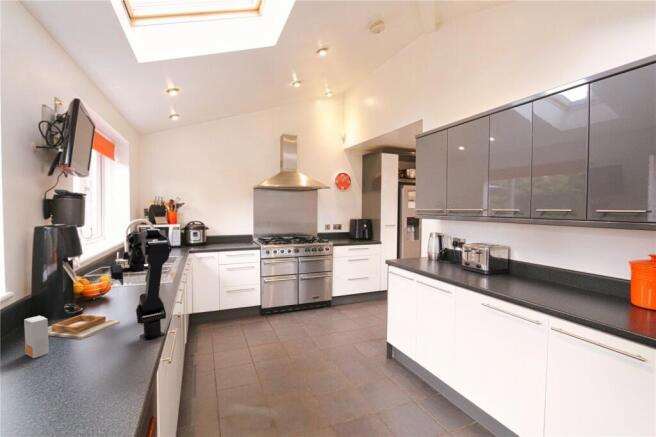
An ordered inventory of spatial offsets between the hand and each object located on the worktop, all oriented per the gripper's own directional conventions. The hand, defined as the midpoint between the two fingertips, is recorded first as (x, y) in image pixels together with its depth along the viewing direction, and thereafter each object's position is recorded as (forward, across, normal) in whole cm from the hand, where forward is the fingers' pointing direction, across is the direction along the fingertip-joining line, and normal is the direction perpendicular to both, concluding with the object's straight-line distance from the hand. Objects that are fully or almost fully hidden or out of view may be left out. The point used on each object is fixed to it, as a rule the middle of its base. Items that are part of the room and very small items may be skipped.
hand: (134, 282), depth 139 cm
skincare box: (+1, +32, +25) cm, 41 cm away
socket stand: (+11, +20, +10) cm, 25 cm away
